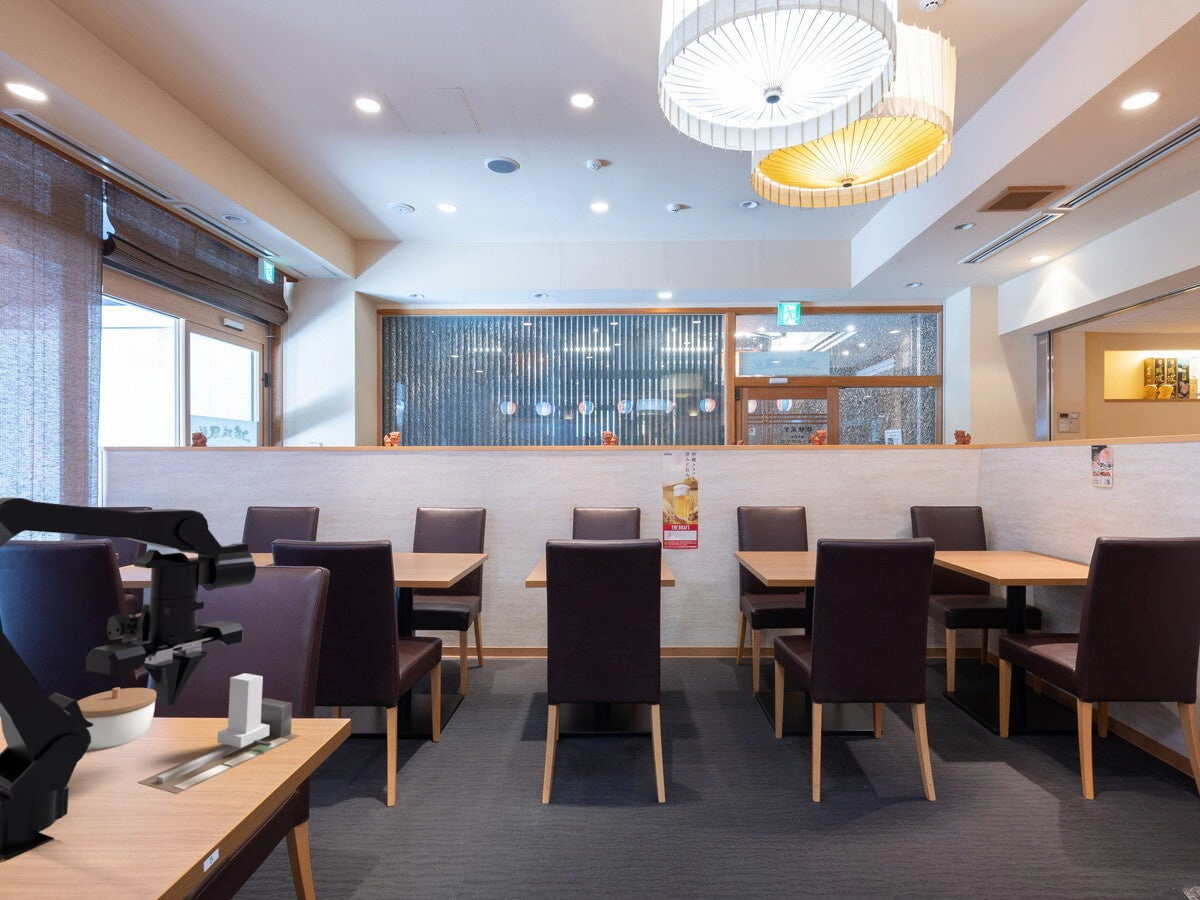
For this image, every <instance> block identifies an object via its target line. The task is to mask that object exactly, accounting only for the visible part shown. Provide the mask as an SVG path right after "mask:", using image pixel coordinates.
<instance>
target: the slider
mask: <svg viewBox="0 0 1200 900" xmlns="http://www.w3.org/2000/svg"><path fill="white" fill-rule="evenodd" d="M263 676H264V675H263ZM263 676H262V675H257V674H253V673H245V672H244V673H240V674H239V675H235V676H231V677H229V697H228V700H229V701H228V717H227V718H228V721H227V728H224V729H222V730H220V731H218V732H217V743H218V744H223V745H230V746H235V747H239V748H242V747H244V746H246V745H248V744H251V743H256V744H260V745H265V746H270V745H271V743H269V742H264V741H260V739H262V738H264V737H266V736H269V728H270V725H267V724H262V723H261V705H262V699H263V683H264V682H263V679H264V678H263Z"/></svg>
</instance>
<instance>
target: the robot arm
mask: <svg viewBox="0 0 1200 900" xmlns="http://www.w3.org/2000/svg"><path fill="white" fill-rule="evenodd" d="M28 531H29V532H40V533H51V534H68V535H80V536H82V535H83V536H96V537H98V536H99V537H108V538H109V537H111V538H121V539H125V540H129V541H134V542H136V543H141V544H145V545H149V546H154V547H158V548H164V549H165V548H166V549H173V550H177V551H179V552H174V553H172V552H171V553H170V552H169V553H161V552H160V550H157V549H147V551H146V553H145V554H143V555H142V556H141V557H139V558H138V559H137V560H135V561H134V562H133V566H134V567H136V568H144V569H151V572H150V591H149V602H148V603H144V604H143V606H142V607H141V612H140V615H138V616H133V617H132V616H130V614H129V613H127V612H126V613H122V614H116V615H112V616H110V617H108V619H107V629H106V630H107V638H108V639H109V640H111V641H113V640H117V639H122V640H121V641H122V642H121V641H119V642H114V643H111V644H107V645H106V644H105V645H103V646H98V647H93V648H91V650H90V652H89V653H88V654H87V656H86V658H85V671H86V672H87V671H89V672H93V673H97V674H98V673H99V674H104V675H109V676H114V675H115V676H116V675H119V674H125V673H128V672H131V671H134V670H135V671H137V670H139V669H140V668H141V667H142V668H144V669H145V670H146V671H147V673H148V674H149V676H150V678H151V679H152V680H153V684H154V687H155V688H156V692H157V693H158V696H159V698H160V700H161V701H160V702H161V703H162V706H163V707H166V708H169V707H172V706H174V705H175V704H176V702H177V701H178V699H179V696H180V695H181V693H182V691H183V689H184V687H185V686H186V684H187V682H188V681H189V679H190V677H191V676H192V674H193V672H194V671H195V670H196V668H197V667H198V666H199V663H201V661H202V659H203V658H206V657H208V655H209V654H208V651H202V650H203V649H202V645H203V644H207V643H211V642H215V641H219V642H220V643H221V644H222V645H223V646H231V645H234V644H238V643H241V642H243V641H244V629H243V627H242V625H241V624H240V622H235V621H233V622H232V621H225V620H224V621H223V620H216V621H212V622H208V623H203V624H199V625H197V621H198V620H197V619H198V618H197V617H198V610H203V609H204V606H205V604H204V602H205V601H200V600H198V598H199V586H201V587H202V588H203V589H204V590H206V591H208V592H212V591H216V590H217V591H219V590H224V589H232V588H233V589H234V588H240V587H245V586H249V585H251V583H252V582H253V581H254V579H255V577H256V576H255V575H256V571H257V570H256V569H257V565H256V564H255V561H254V558H253V556H252V553H250V552H249V544H248V543H240V542H239V543H232V544H229V545H221V544H220V543H219V541H218V540H217V539H216V537H215V536H214V535H213V533H212V532H211V531H210V529H209V523H208V520H207V519H206V517H205V516H204V514H203V513H201V512H200V511H197V510H193V509H179V508H178V509H176V508H161V509H159V508H158V509H142V510H141V509H140V510H119V509H110V508H109V509H108V508H101V507H100V508H99V507H90V506H81V505H71V504H70V505H69V504H61V503H52V502H42V501H34V500H30V499H27V498H23V497H0V548H1V547H2V546H4V545H5V544H6V543H8V542H9V541H10V540H12V539H13V538H14V537H16V536H17V535H19V534H21V533H23V532H28ZM184 553H186V554H187V553H188V554H197V557H188V556H187V555H186V554H184ZM133 642H139V643H143V642H147V643H144V644H135V643H133ZM25 663H26V662H24V660H23V659H22V658H21V655H20V654H19V653H18V652H17V650H16V649H15V647H14V646H13V645H12V643H11V641H10V640H9V638H8V637H7V636H6V634H5V633H4V631H3V630H2V628H1V627H0V722H1V729H2V734H3V735H2V736H3V737H4V740H5V742H6V744H7V745H6V747H5V748H4V749H3V750H2V751H1V752H0V859H1V860H6V859H9V858H12V857H14V856H16V855H19V854H22V853H23V852H25V851H28V850H29V849H32V848H35V847H36V846H38V845H41V844H43V843H45V842H48V841H50V840H51V839H52V840H53V839H54V837H53V836H50V835H47V834H44V833H42V831H44V830H46V829H48V828H49V827H51V826H53V824H55V822H56V821H58V820H60V819H62V818H63V817H64V816H66V815H68V812H69V811H68V809H69V808H68V807H69V796H70V793H69V792H70V787H69V786H68V784H69V781H70V780H71V778H72V775H73V772H74V770H75V768H76V766H77V764H78V762H80V761H81V759H82V758H83V757H84V756H85V754H86V753H87V749H88V746H89V744H90V743H91V735H90V732H89V730H88V729H87V728H88V727H92V726H93V723H91V722H88V721H87V720H86V719H85V718H84V717H83V715H82V712H81V709H80V706H79V705H78V703H77V701H78V700H76V699H72V698H70V697H68V696H65V695H62V694H60V693H58V692H53V693H52V694H51V695H50V696H48V695H47V694H46V693H45V691H44V690H43V688H42V687H41V685H40V683H38V681H37V680H36V678H35V677H34V675H33V674H32V672H31V671H30V670H29V667H28V666H27V665H26V664H25Z"/></svg>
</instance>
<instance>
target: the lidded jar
mask: <svg viewBox="0 0 1200 900" xmlns="http://www.w3.org/2000/svg"><path fill="white" fill-rule="evenodd" d="M156 700H157V690H155V689H152V688H148V687H147V688H146V687H127V688H121V687H114V688H112V689H111V690H108V691H103V692H99V693H96V694H92V695H89V696H86V697H83V698H81V699H79V700H76V701H77V703H78V705H79V706H80V709H81V712H82V715H83V717H84V718H85V719H86V720H87V721H88V722H91V723H93V726H92V727H88V728H87V729H88V730H89V732H90V735H91V743H90V744H89V746H88V749H87V751H90V750H101V749H109V748H114V747H118V746H122V745H126V744H128V743H131V742H132V743H133V742H134V741H136V740H138V739H140V738H142V737H143V736H144V735H145V734H146V733H147V732H148V730H149V728H150V726H151V724H152V722H153V718H154V714H155V706H156ZM87 751H86V752H87Z"/></svg>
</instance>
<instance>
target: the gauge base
mask: <svg viewBox="0 0 1200 900" xmlns="http://www.w3.org/2000/svg"><path fill="white" fill-rule="evenodd" d="M292 714H293V702H289V701H285V700H283V701H282V700H278V699H273V698H269V697H264V698H262V705H261V723H262V724H267V725H270V728H269V736H266V737H264V738H262V739H260V741H264V742H269V743H271V745H270V746H265V745H260V744H256V743H251V744H248V745H246V746H244V747H242V748H239V747H235V746H230V745H226V744H223V745H221V746H219V747H217V748H215V749H212V750H210V751H208V752H205V753H202V754H201V755H198V756H196V757H193V758H192V759H189V760H186V761H183V762H182V763H180V764H177V765H175V766H173V767H170V768H168V769H166V770H163V771H160V772H157V773H156V774H154V775H151V776H149V777H147V778H144V779H142V780H140V781H137V783H138V784H141V785H144V786H147V787H151V788H154V789H158V790H162V791H164V792H169V793H172V794H175V795H177V794H180V793H182V792H184V791H186V790H188V789H190V788H192V787H195V786H197V785H199V784H201V783H204V782H206V781H208V780H209V779H211V778H213V777H216V776H218V775H219V774H222V773H225V772H226V771H229V770H231V769H233V768H235V767H238V766H239V765H241V764H243V763H246V762H248V761H249V760H252V759H254V758H257V757H258V756H261V755H263V754H265V753H267V752H269V751H271V750H273V749H276V748H278V747H279V746H282V745H285V744H286V743H288V742H290V741H292V740H295V739H297V738H299V737H300V735H298V734H294V733H292V718H293V717H292V716H293V715H292Z"/></svg>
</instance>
